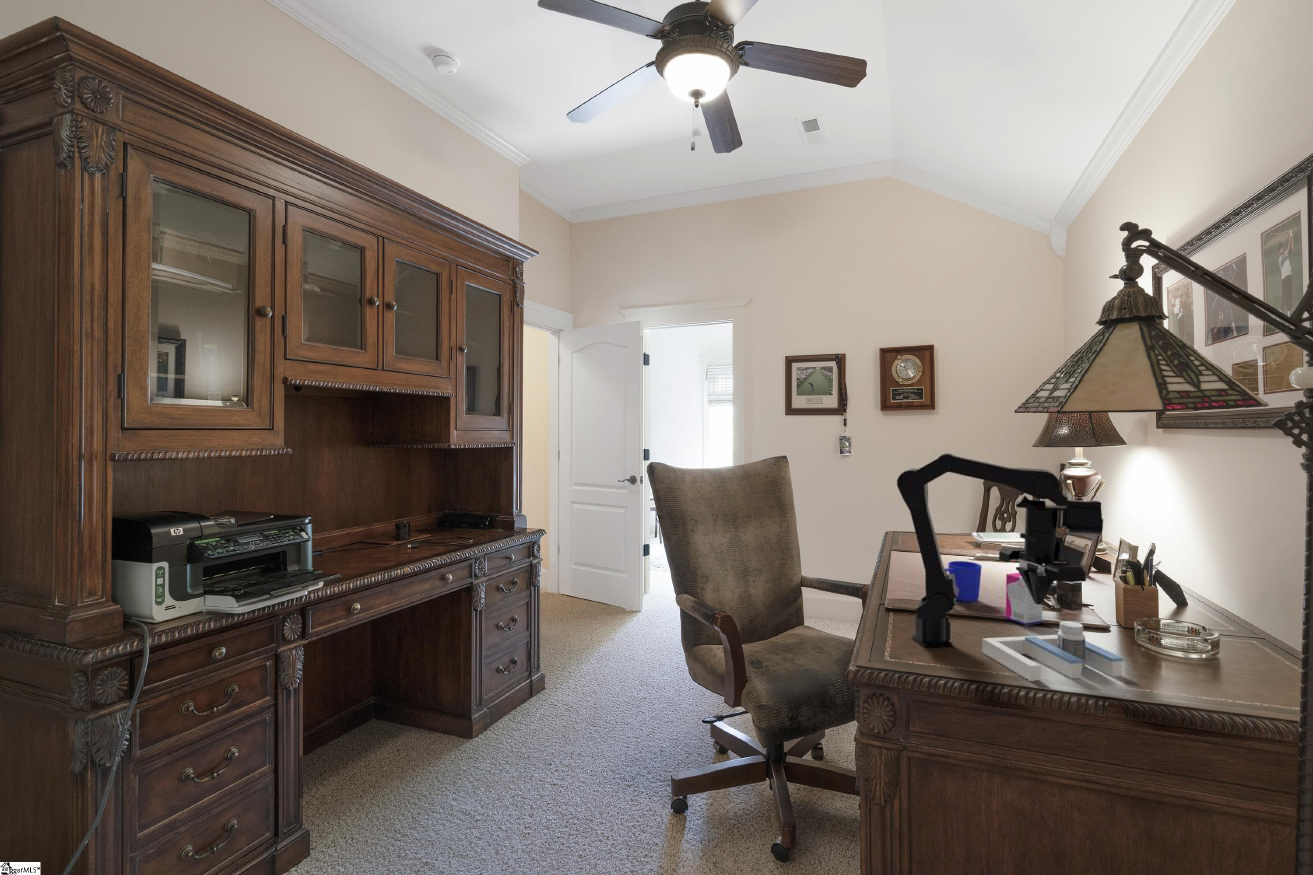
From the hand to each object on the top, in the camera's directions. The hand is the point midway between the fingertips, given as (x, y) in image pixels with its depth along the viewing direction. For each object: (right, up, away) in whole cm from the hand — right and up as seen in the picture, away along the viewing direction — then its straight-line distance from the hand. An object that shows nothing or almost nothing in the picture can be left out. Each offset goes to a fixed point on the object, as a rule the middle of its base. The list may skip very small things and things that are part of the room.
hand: (1038, 603), depth 130 cm
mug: (+4, -11, +41) cm, 43 cm away
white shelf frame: (+1, -12, -3) cm, 12 cm away
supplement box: (+11, -11, +24) cm, 29 cm away
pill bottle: (+5, -12, -3) cm, 13 cm away
